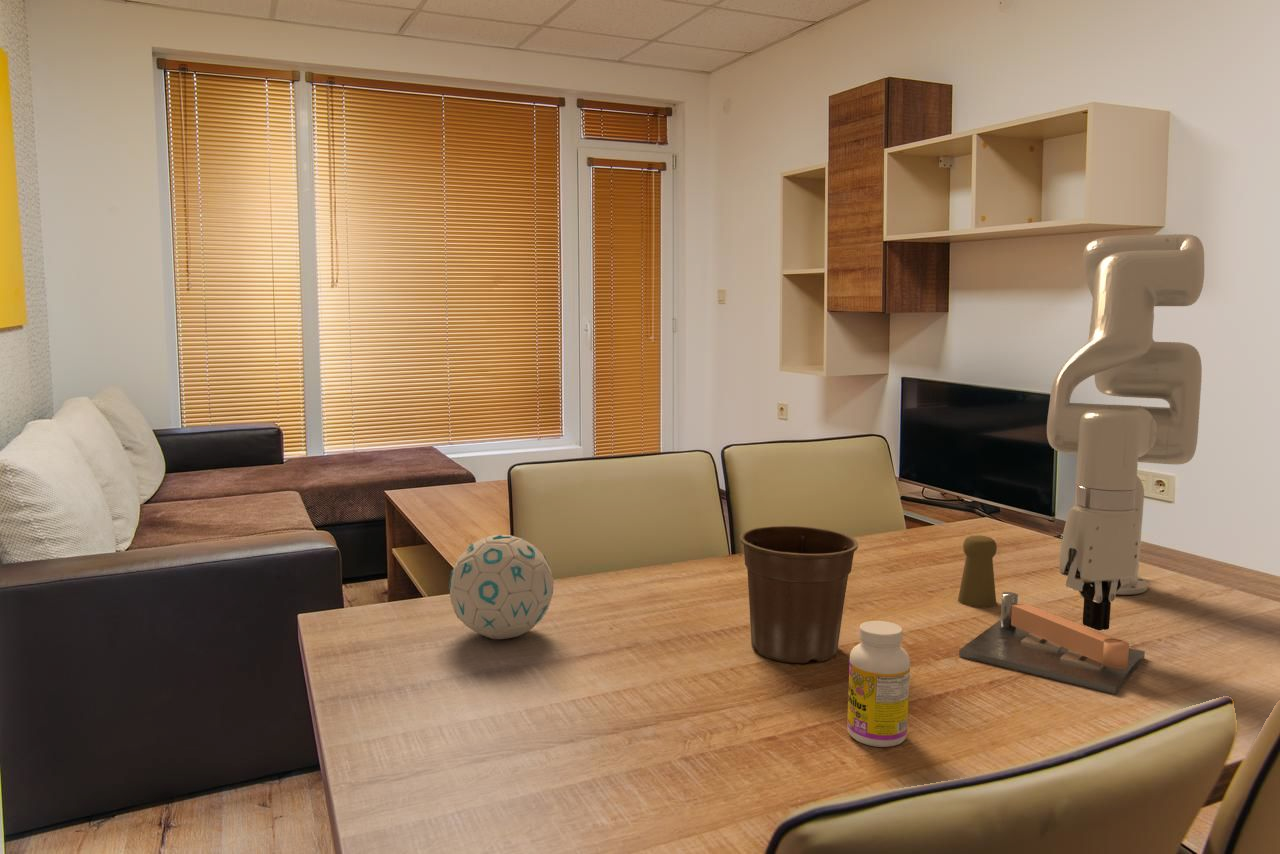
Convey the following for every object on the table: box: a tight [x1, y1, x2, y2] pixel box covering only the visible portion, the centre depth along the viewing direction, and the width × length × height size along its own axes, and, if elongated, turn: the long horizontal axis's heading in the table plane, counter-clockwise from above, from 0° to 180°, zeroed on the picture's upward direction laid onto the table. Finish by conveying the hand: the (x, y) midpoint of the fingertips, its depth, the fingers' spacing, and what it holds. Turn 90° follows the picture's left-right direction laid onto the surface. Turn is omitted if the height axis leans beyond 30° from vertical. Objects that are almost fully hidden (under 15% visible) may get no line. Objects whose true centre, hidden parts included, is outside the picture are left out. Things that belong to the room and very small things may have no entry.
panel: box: [958, 591, 1146, 695], centre depth 131 cm, size 16×20×6 cm
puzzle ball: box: [448, 534, 554, 640], centre depth 139 cm, size 15×15×15 cm
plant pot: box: [739, 525, 859, 664], centre depth 134 cm, size 16×16×16 cm
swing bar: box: [1011, 602, 1130, 669], centre depth 131 cm, size 18×3×3 cm, turn 23°
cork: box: [957, 534, 998, 609], centre depth 156 cm, size 6×6×11 cm
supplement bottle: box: [846, 620, 911, 748], centre depth 107 cm, size 7×7×13 cm
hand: (1095, 626), depth 134 cm, fingers closed
